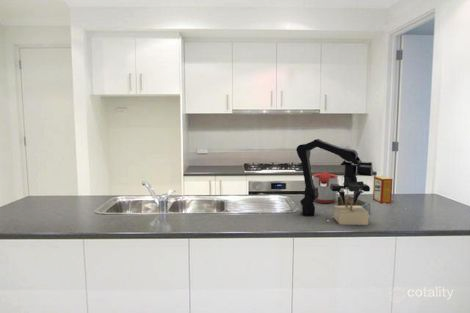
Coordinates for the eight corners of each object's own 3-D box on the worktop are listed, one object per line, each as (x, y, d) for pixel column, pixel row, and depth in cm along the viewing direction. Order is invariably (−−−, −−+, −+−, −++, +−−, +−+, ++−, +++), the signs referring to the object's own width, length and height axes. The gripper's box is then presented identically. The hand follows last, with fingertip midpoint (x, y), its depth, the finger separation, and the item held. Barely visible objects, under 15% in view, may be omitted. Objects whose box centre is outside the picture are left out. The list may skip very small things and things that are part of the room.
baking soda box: (373, 199, 201) (374, 175, 199) (382, 199, 202) (383, 175, 200) (381, 203, 192) (382, 178, 190) (391, 203, 192) (392, 178, 191)
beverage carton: (359, 215, 169) (359, 204, 168) (336, 206, 187) (337, 196, 186) (370, 214, 172) (371, 202, 171) (347, 205, 190) (347, 194, 189)
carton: (339, 224, 154) (340, 211, 153) (333, 217, 165) (334, 205, 164) (367, 224, 154) (368, 211, 153) (359, 217, 165) (360, 205, 164)
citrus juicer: (309, 203, 192) (310, 172, 190) (313, 197, 208) (314, 168, 206) (335, 206, 186) (336, 174, 184) (338, 199, 202) (339, 169, 200)
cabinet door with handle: (340, 212, 154) (340, 201, 153) (334, 206, 164) (334, 195, 164) (354, 212, 153) (354, 201, 153) (347, 206, 164) (347, 195, 163)
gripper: (336, 177, 149) (335, 208, 151) (375, 177, 148) (373, 208, 150) (330, 173, 160) (329, 202, 162) (366, 173, 159) (364, 202, 161)
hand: (348, 203), depth 158 cm, fingers open, 5 cm apart
